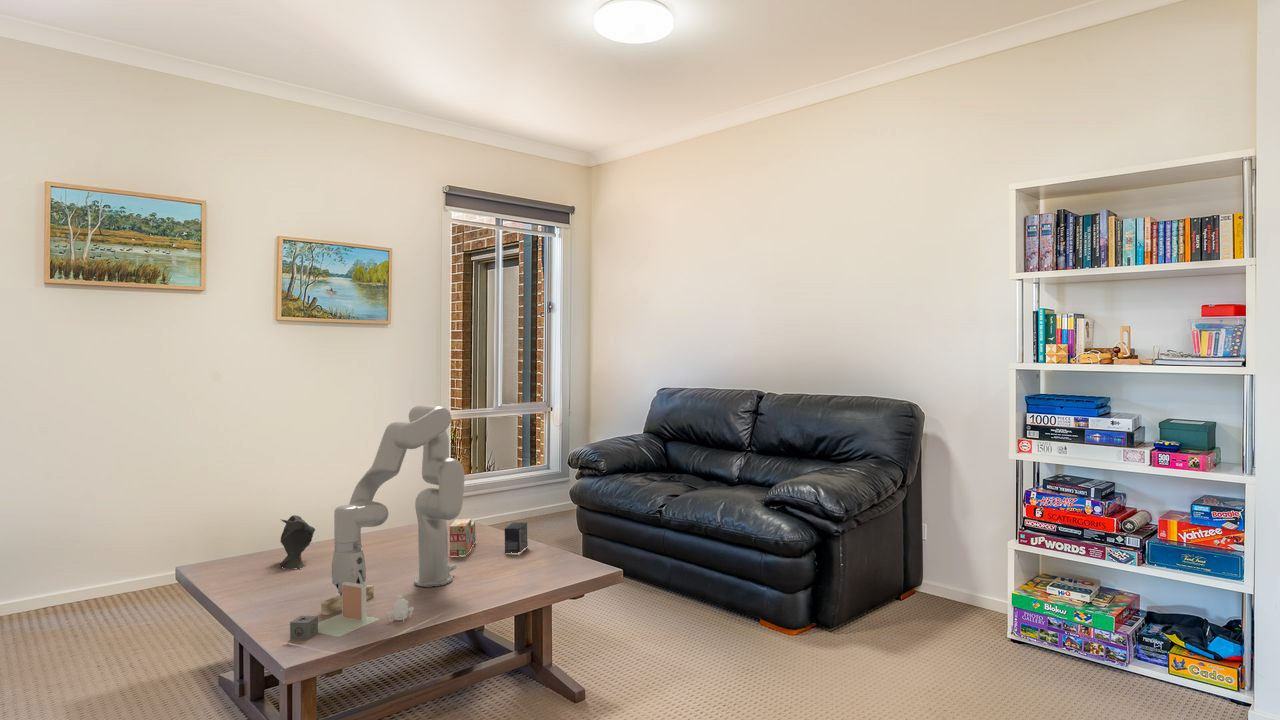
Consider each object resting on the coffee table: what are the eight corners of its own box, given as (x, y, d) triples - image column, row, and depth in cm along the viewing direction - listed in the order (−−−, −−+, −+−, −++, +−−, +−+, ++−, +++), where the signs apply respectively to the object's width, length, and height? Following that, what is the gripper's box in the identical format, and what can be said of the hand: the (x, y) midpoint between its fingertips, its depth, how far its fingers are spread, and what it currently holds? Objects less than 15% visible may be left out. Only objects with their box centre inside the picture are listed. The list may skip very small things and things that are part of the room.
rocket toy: (413, 618, 211) (413, 591, 211) (404, 625, 205) (404, 597, 205) (396, 617, 211) (396, 590, 211) (386, 624, 206) (386, 596, 206)
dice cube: (300, 633, 199) (300, 615, 199) (318, 634, 199) (317, 616, 199) (290, 640, 194) (290, 622, 194) (307, 641, 194) (307, 622, 194)
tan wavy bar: (368, 597, 230) (367, 584, 230) (373, 598, 229) (373, 585, 229) (321, 615, 214) (321, 602, 214) (327, 616, 213) (327, 603, 213)
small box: (512, 548, 290) (512, 521, 290) (528, 548, 289) (527, 522, 289) (503, 555, 279) (503, 527, 279) (520, 555, 278) (519, 528, 278)
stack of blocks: (460, 543, 298) (460, 514, 298) (475, 543, 298) (475, 513, 298) (449, 557, 276) (449, 525, 276) (466, 557, 277) (465, 525, 277)
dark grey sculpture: (326, 558, 277) (325, 511, 277) (300, 569, 262) (300, 519, 262) (292, 556, 280) (292, 510, 280) (265, 568, 265) (264, 518, 265)
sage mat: (344, 613, 215) (344, 612, 215) (380, 620, 209) (380, 618, 209) (302, 630, 201) (302, 629, 201) (338, 638, 195) (338, 636, 195)
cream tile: (346, 615, 212) (345, 581, 212) (366, 619, 208) (366, 585, 208) (341, 617, 210) (341, 583, 210) (361, 621, 207) (361, 586, 207)
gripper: (376, 545, 221) (377, 606, 221) (338, 541, 228) (339, 599, 228) (357, 551, 215) (358, 614, 214) (319, 546, 221) (319, 606, 221)
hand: (348, 605), depth 221 cm, fingers closed on tan wavy bar, 2 cm apart
